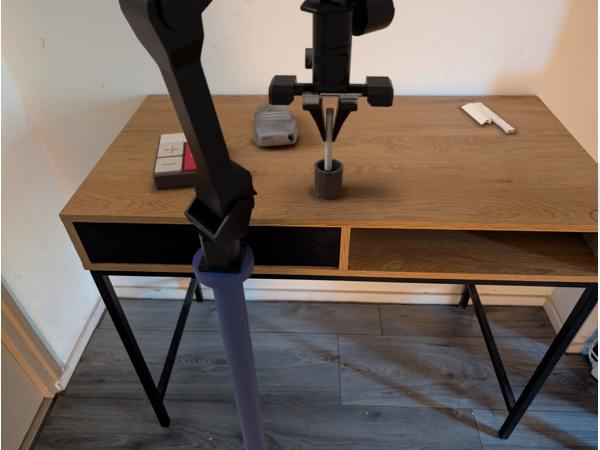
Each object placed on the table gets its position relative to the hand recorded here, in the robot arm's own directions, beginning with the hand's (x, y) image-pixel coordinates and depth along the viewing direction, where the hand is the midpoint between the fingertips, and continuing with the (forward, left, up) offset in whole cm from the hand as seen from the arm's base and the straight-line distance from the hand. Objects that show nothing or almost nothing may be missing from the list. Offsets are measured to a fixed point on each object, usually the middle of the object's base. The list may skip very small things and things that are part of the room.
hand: (329, 140), depth 72 cm
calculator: (+8, +28, -10) cm, 31 cm away
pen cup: (0, 0, -10) cm, 10 cm away
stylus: (0, 0, -6) cm, 6 cm away
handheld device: (+25, +13, -11) cm, 30 cm away
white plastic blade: (+32, -36, -10) cm, 49 cm away
